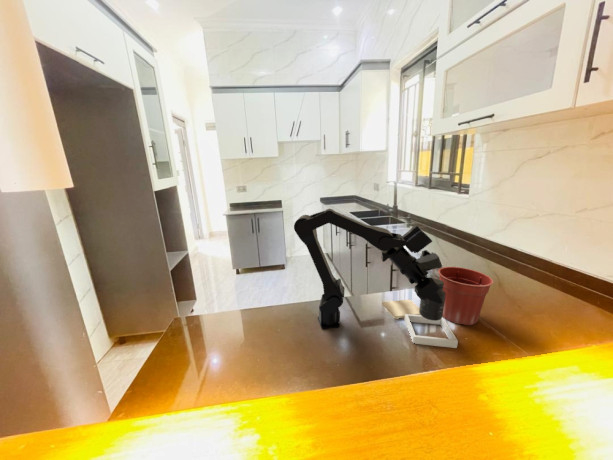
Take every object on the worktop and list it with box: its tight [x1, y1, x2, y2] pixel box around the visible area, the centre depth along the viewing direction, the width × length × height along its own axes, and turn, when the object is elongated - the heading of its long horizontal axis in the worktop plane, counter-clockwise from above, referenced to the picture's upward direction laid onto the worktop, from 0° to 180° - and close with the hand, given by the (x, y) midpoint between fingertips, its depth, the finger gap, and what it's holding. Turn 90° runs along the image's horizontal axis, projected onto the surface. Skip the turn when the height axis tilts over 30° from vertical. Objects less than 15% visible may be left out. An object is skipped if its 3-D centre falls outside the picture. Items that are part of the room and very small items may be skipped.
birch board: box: [381, 299, 420, 320], centre depth 96 cm, size 12×10×1 cm
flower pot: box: [437, 266, 494, 326], centre depth 90 cm, size 16×16×16 cm
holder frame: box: [403, 314, 459, 349], centre depth 82 cm, size 13×13×2 cm
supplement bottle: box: [418, 277, 446, 321], centre depth 80 cm, size 7×7×12 cm
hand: (437, 297), depth 79 cm, fingers closed on supplement bottle, 7 cm apart
